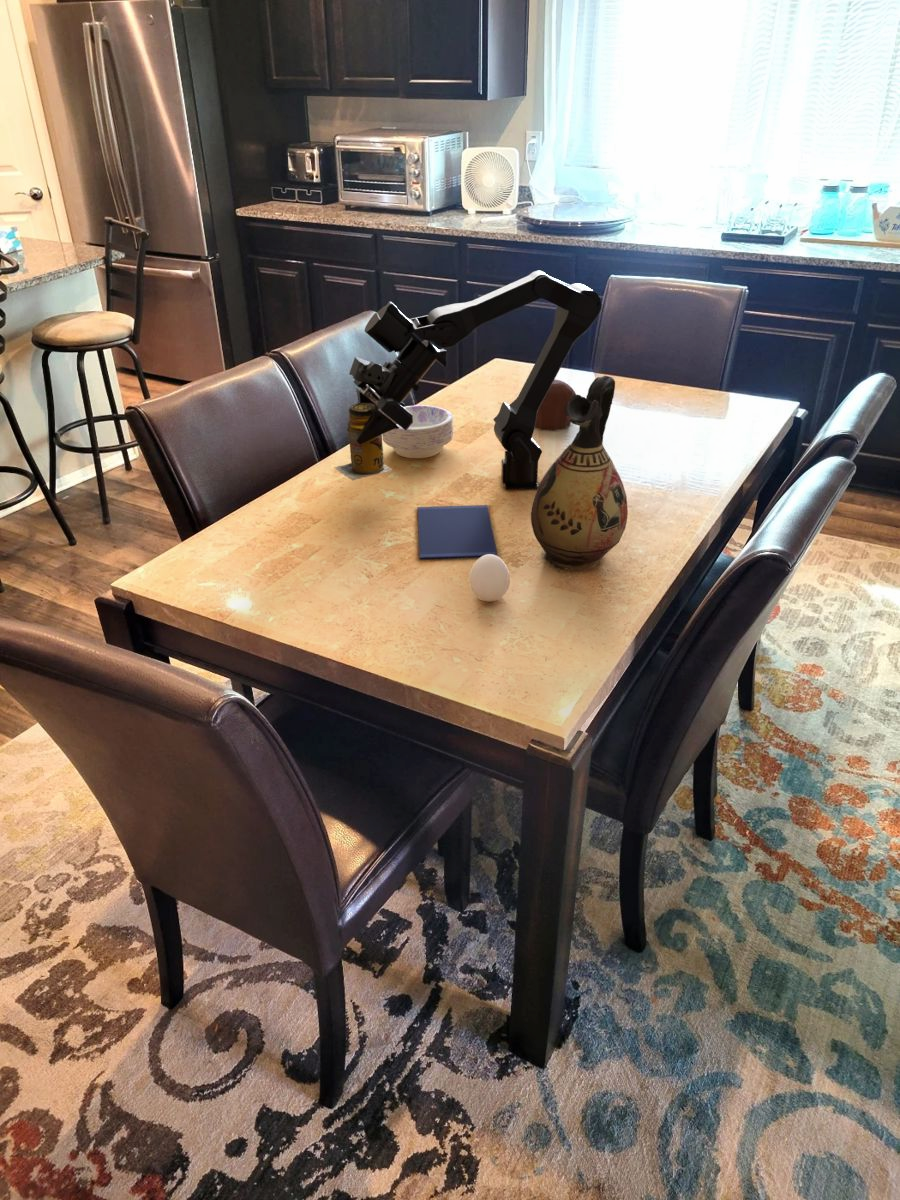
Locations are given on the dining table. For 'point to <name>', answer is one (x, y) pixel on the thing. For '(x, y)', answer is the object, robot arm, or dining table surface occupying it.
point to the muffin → (554, 407)
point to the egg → (489, 578)
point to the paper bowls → (422, 432)
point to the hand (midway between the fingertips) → (353, 437)
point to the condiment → (363, 447)
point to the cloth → (455, 532)
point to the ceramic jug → (582, 489)
